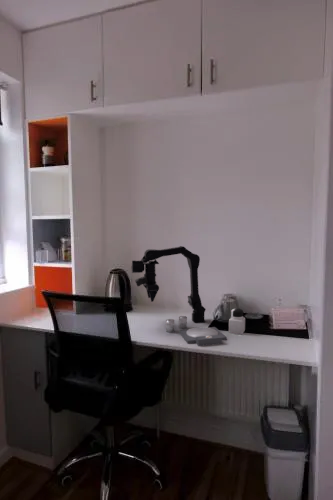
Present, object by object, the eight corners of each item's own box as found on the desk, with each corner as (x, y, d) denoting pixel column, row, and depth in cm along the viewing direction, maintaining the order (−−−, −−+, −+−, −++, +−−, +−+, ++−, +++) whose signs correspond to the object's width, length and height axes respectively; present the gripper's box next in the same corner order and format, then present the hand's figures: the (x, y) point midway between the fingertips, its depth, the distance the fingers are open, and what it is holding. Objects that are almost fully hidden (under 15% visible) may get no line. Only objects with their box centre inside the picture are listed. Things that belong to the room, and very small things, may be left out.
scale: (214, 329, 175) (214, 323, 175) (230, 342, 156) (230, 336, 156) (179, 332, 171) (179, 326, 171) (190, 346, 152) (190, 339, 151)
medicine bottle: (245, 330, 173) (245, 308, 172) (242, 334, 167) (242, 311, 166) (231, 328, 176) (232, 307, 175) (228, 332, 170) (228, 310, 169)
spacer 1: (173, 329, 176) (173, 318, 175) (175, 332, 171) (175, 321, 171) (165, 330, 175) (165, 319, 174) (167, 333, 170) (167, 321, 170)
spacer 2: (185, 326, 181) (185, 315, 181) (187, 328, 177) (187, 318, 176) (177, 326, 180) (177, 316, 180) (179, 329, 176) (179, 318, 176)
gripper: (133, 270, 188) (134, 296, 190) (138, 275, 170) (138, 304, 172) (152, 269, 191) (153, 295, 192) (159, 274, 173) (159, 303, 174)
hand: (150, 299), depth 183 cm, fingers open, 9 cm apart
